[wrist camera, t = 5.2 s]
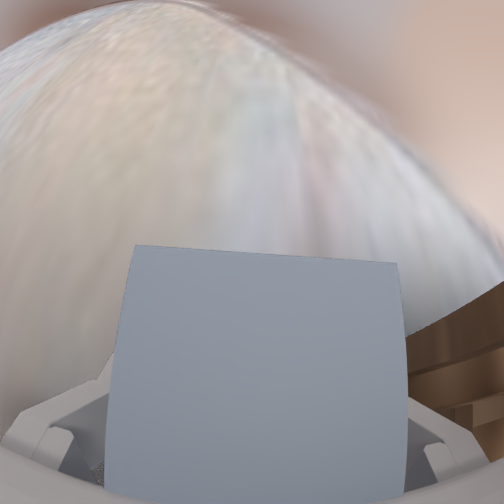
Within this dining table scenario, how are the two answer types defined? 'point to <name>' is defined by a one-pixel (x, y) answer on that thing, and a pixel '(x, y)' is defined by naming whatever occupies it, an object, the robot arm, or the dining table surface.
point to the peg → (257, 380)
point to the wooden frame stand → (464, 369)
